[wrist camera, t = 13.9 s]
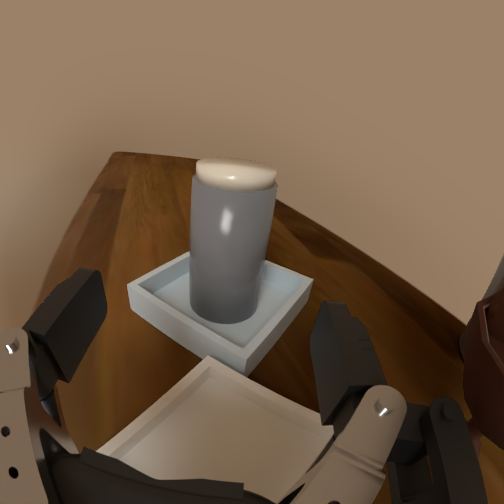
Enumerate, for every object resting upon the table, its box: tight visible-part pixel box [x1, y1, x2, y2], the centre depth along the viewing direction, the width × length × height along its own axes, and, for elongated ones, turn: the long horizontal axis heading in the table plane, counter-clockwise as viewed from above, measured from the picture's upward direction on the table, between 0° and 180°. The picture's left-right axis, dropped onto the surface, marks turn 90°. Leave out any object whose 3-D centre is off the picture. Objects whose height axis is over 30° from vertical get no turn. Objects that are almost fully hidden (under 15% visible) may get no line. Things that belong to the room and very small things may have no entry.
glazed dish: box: [127, 251, 314, 377], centre depth 23 cm, size 11×11×2 cm
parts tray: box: [96, 355, 334, 504], centre depth 10 cm, size 10×10×2 cm
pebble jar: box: [189, 158, 278, 324], centre depth 20 cm, size 6×6×11 cm
